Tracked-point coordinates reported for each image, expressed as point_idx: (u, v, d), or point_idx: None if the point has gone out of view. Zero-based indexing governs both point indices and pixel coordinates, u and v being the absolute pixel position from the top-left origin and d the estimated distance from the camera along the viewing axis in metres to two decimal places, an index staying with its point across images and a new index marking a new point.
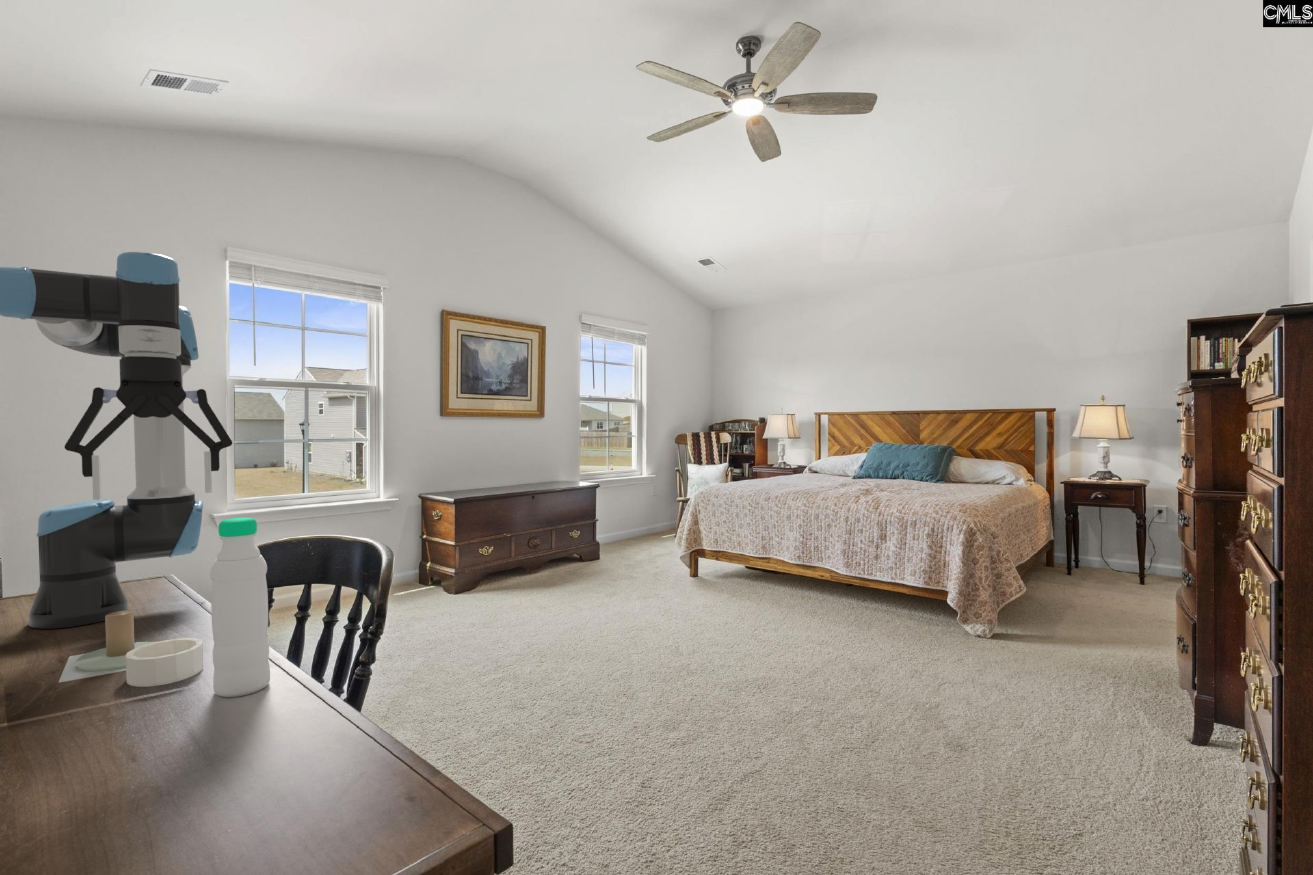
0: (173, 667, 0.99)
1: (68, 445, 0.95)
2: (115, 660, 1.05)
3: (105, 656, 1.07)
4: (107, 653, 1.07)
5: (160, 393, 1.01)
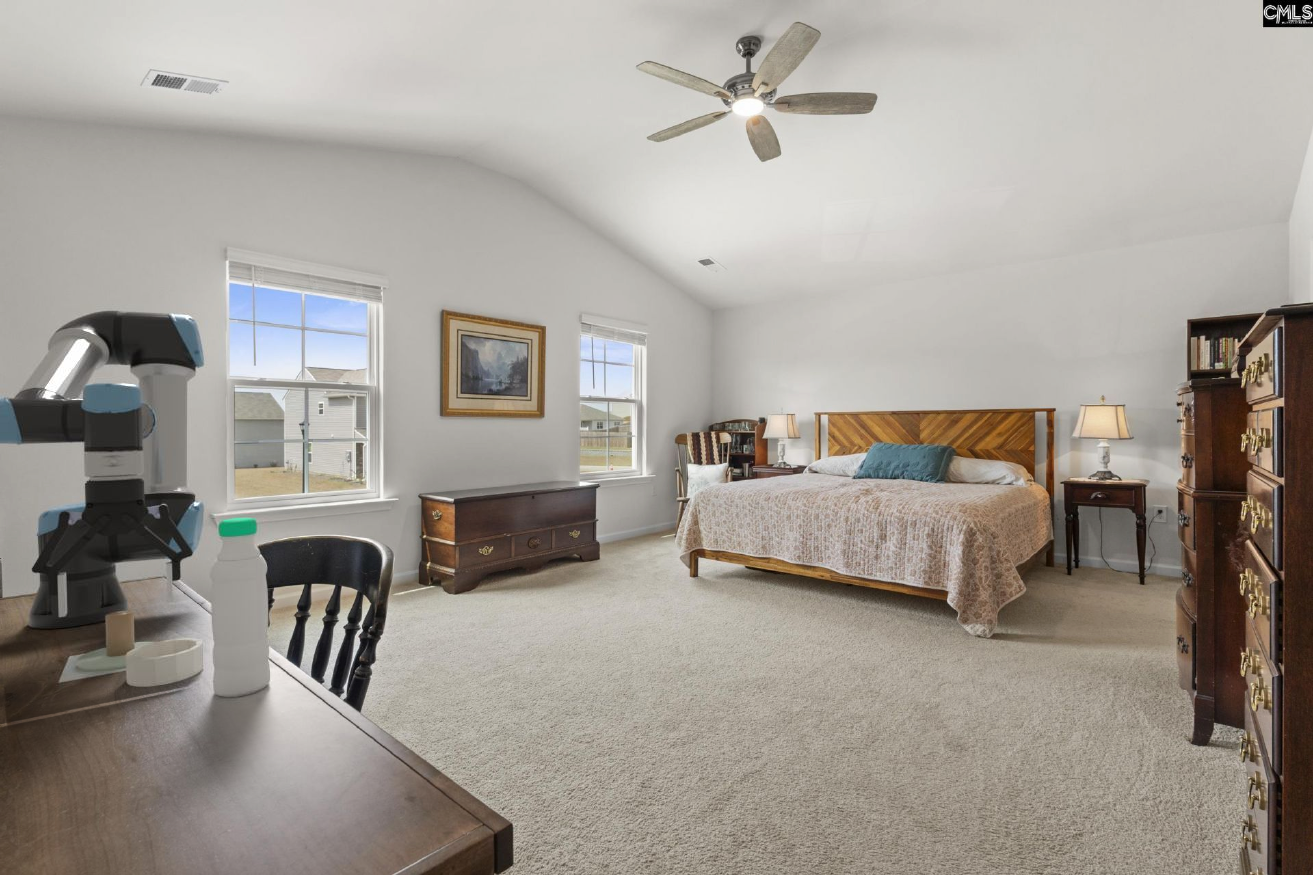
0: (173, 667, 0.99)
1: (35, 568, 1.02)
2: (115, 660, 1.05)
3: (105, 656, 1.07)
4: (107, 653, 1.07)
5: (123, 512, 1.08)
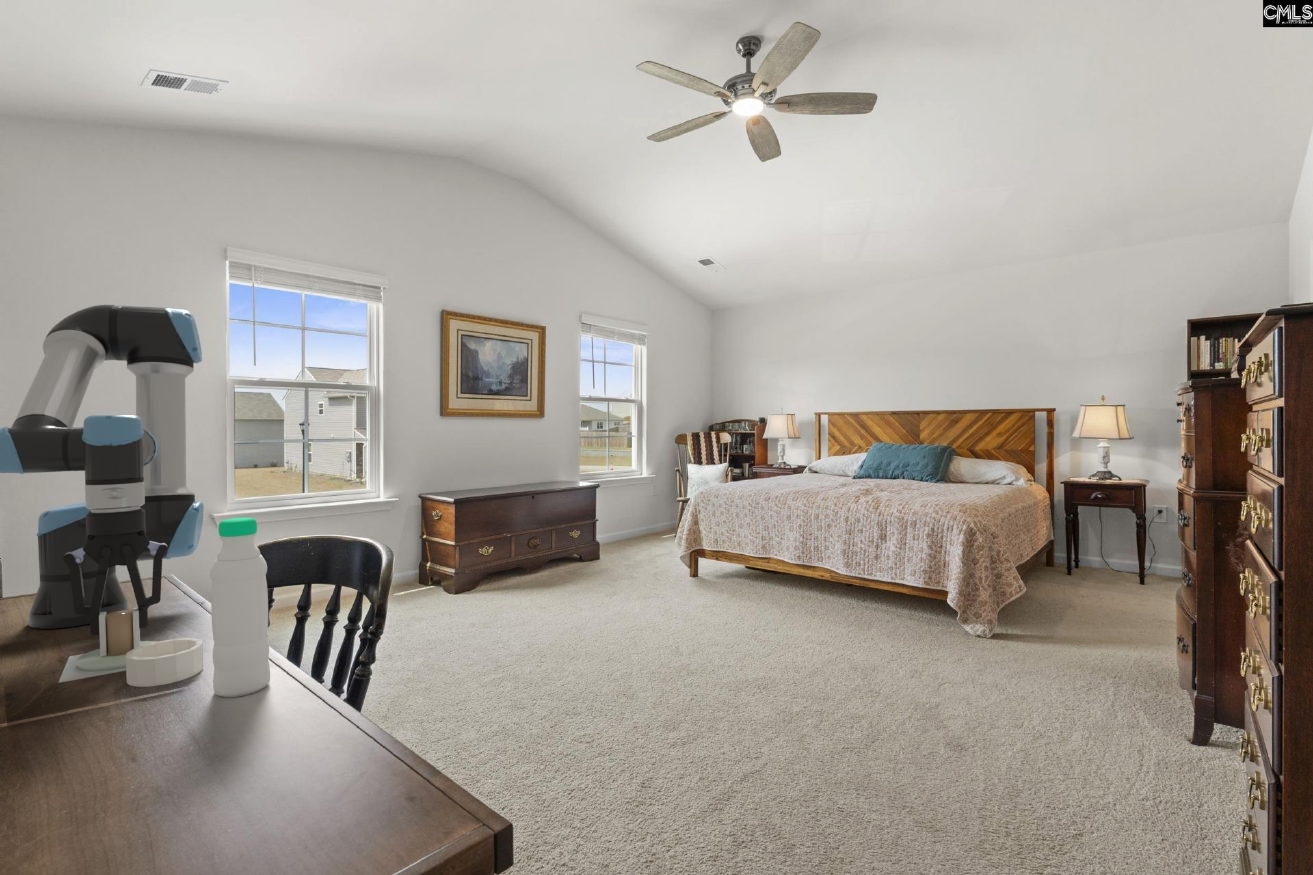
0: (173, 667, 0.99)
1: (77, 610, 1.05)
2: (115, 659, 1.06)
3: (105, 656, 1.07)
4: (107, 652, 1.07)
5: (128, 542, 1.08)
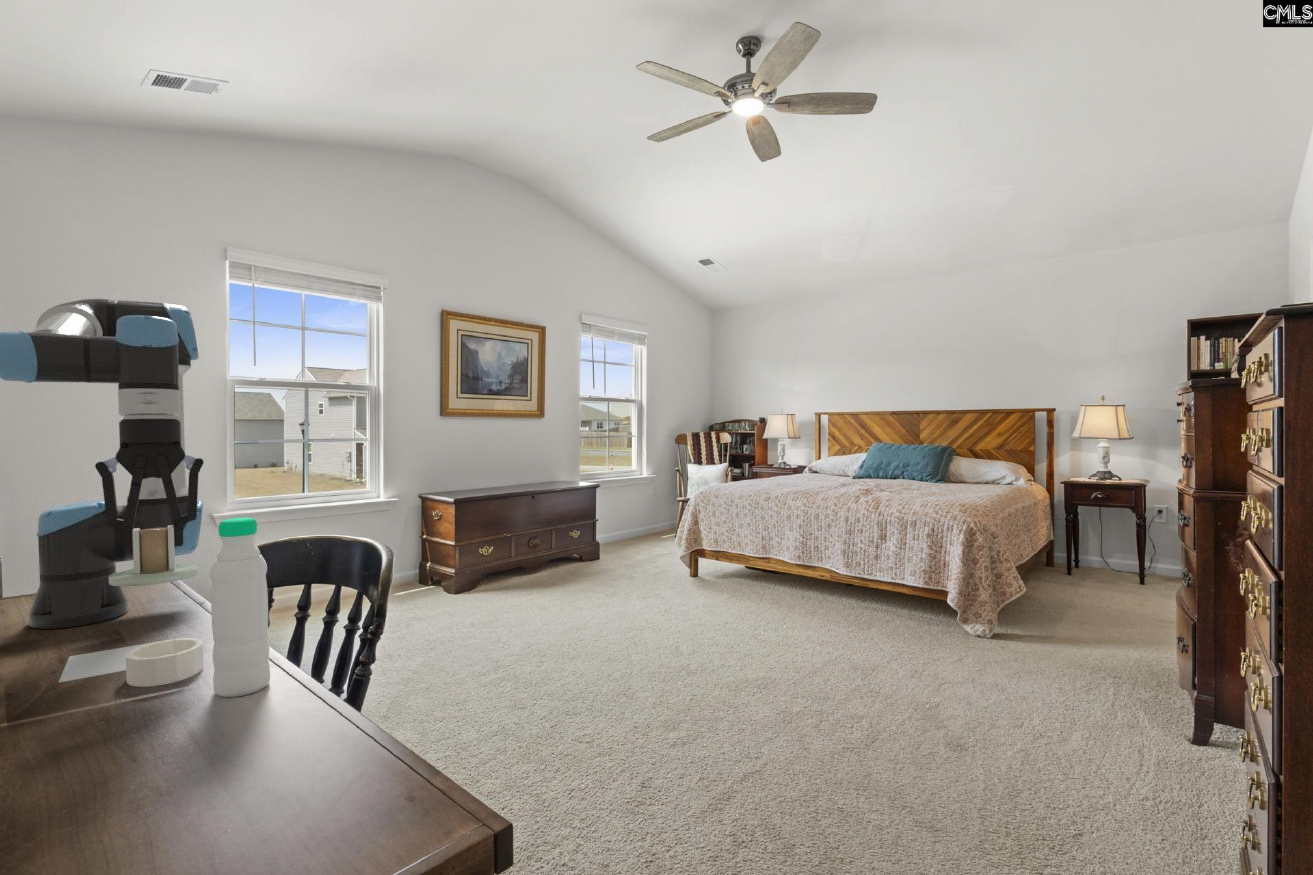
0: (173, 667, 0.99)
1: (110, 522, 0.98)
2: (149, 576, 0.98)
3: (139, 574, 1.00)
4: (141, 570, 1.01)
5: (163, 454, 1.02)
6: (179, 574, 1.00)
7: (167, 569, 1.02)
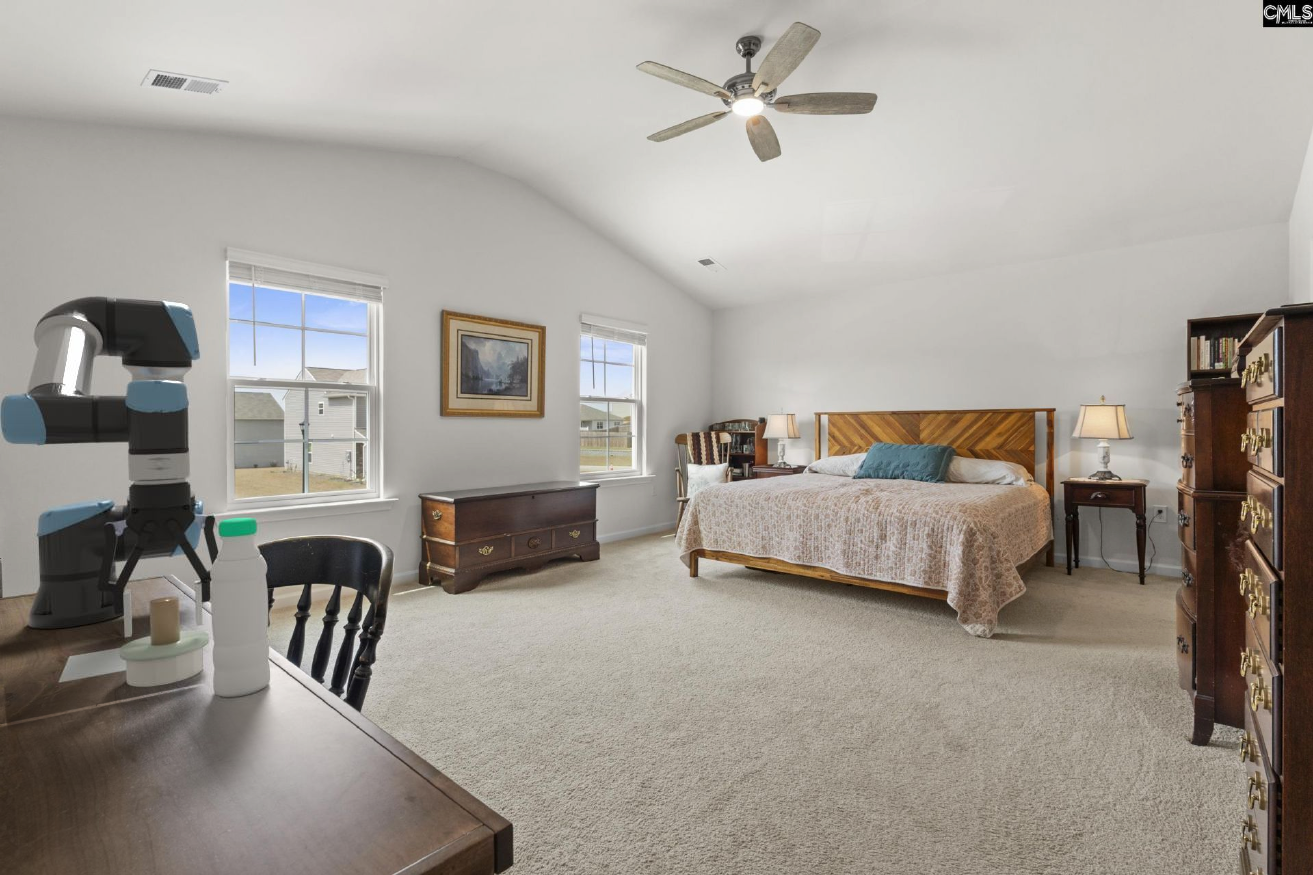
0: (173, 667, 0.99)
1: (100, 586, 0.96)
2: (161, 649, 0.99)
3: (150, 645, 1.00)
4: (152, 642, 1.00)
5: (171, 517, 1.01)
6: (191, 646, 1.00)
7: (178, 639, 1.02)
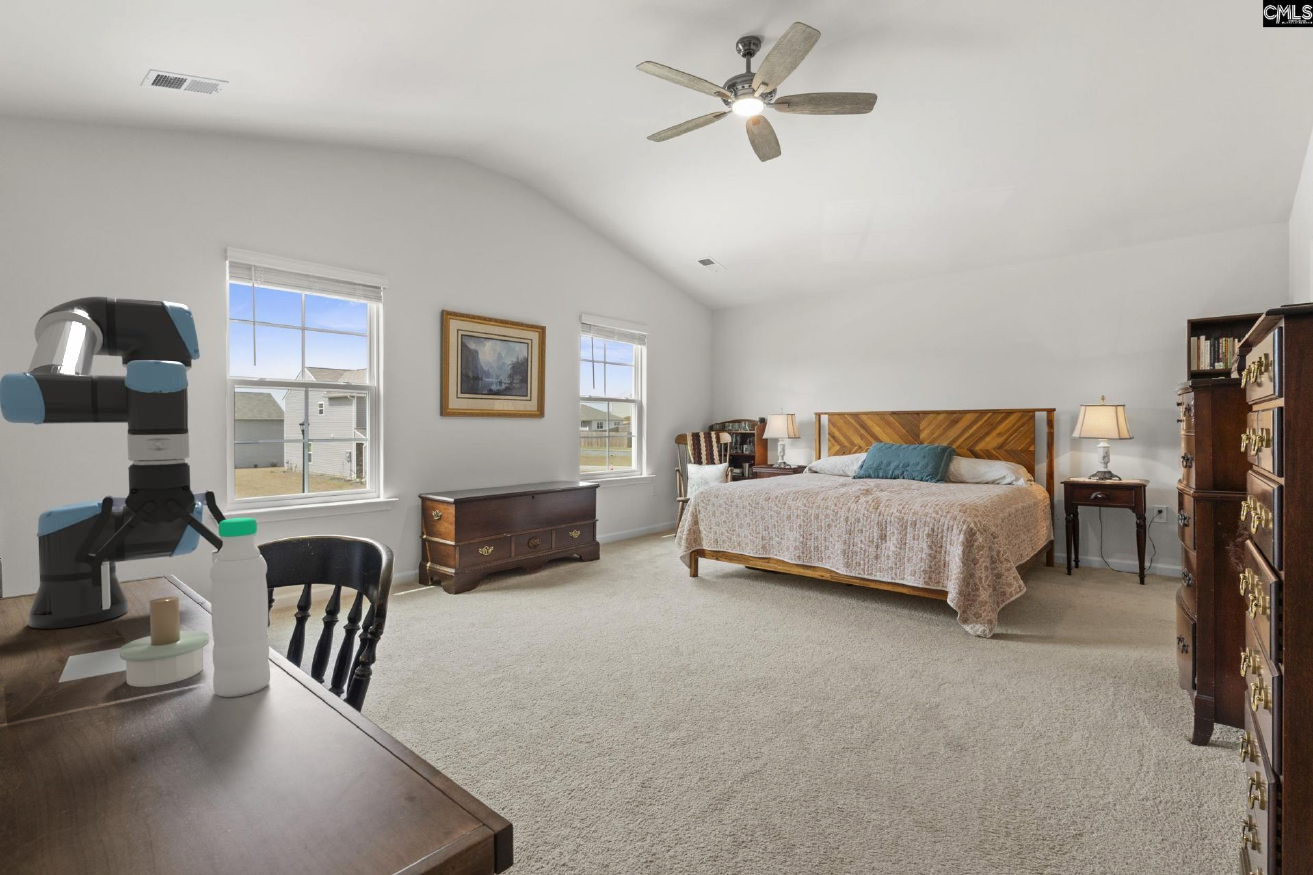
0: (173, 667, 0.99)
1: (78, 557, 0.95)
2: (161, 649, 0.99)
3: (150, 645, 1.00)
4: (152, 642, 1.00)
5: (169, 498, 1.01)
6: (191, 646, 1.00)
7: (178, 639, 1.02)
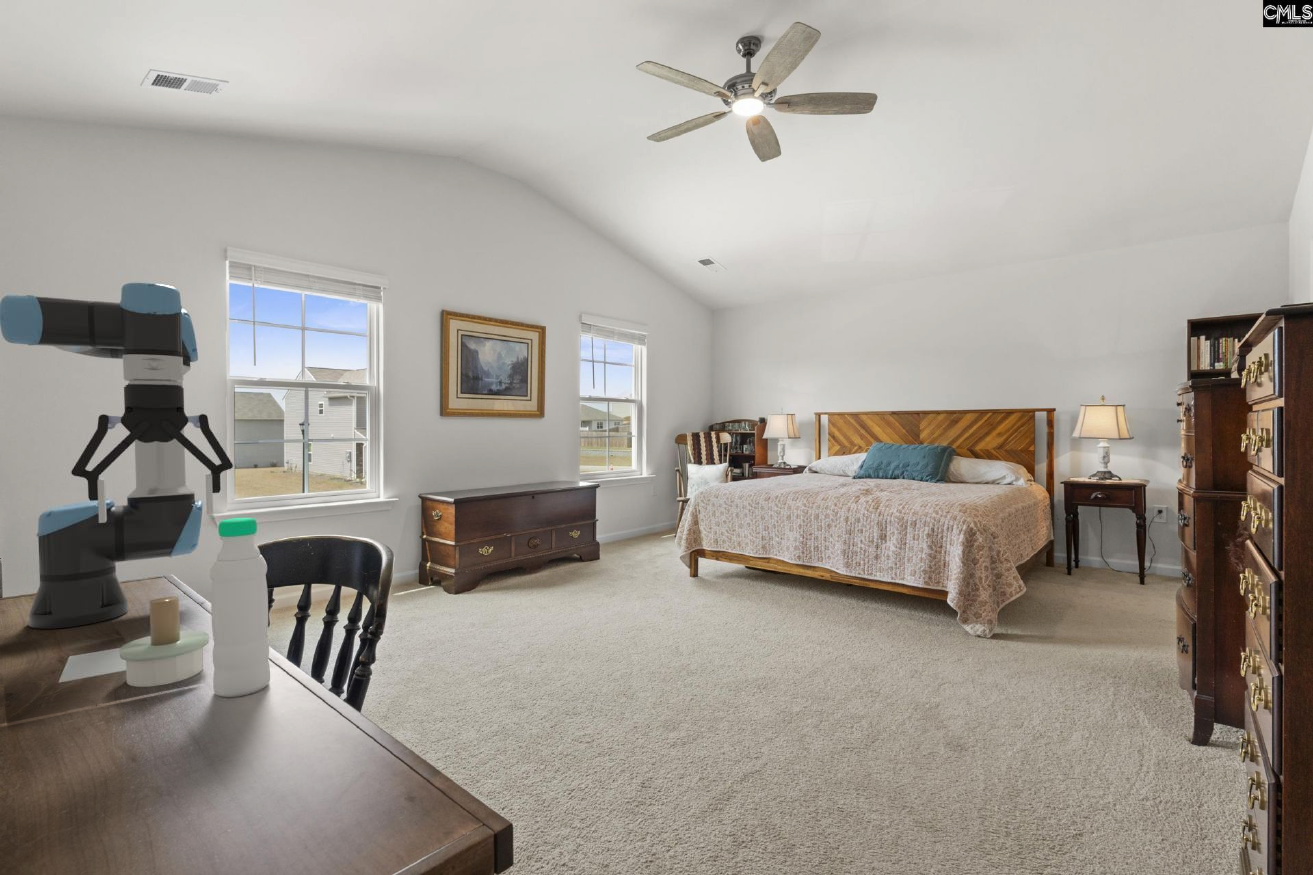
0: (173, 667, 0.99)
1: (75, 471, 0.98)
2: (161, 649, 0.99)
3: (150, 645, 1.00)
4: (152, 642, 1.00)
5: (163, 419, 1.04)
6: (191, 646, 1.00)
7: (178, 639, 1.02)
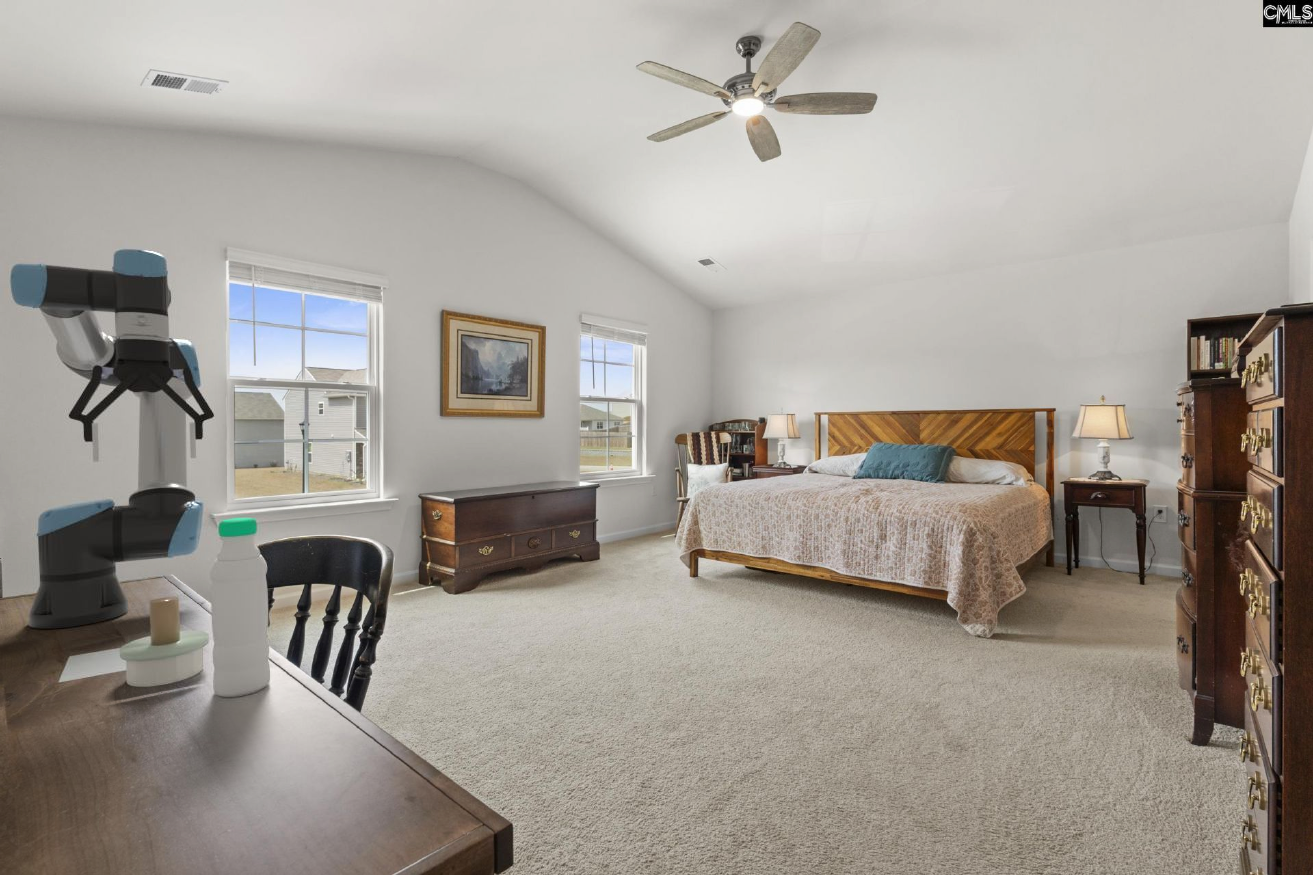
0: (173, 667, 0.99)
1: (72, 414, 1.11)
2: (161, 649, 0.99)
3: (150, 645, 1.00)
4: (152, 642, 1.00)
5: (151, 371, 1.17)
6: (191, 646, 1.00)
7: (178, 639, 1.02)
